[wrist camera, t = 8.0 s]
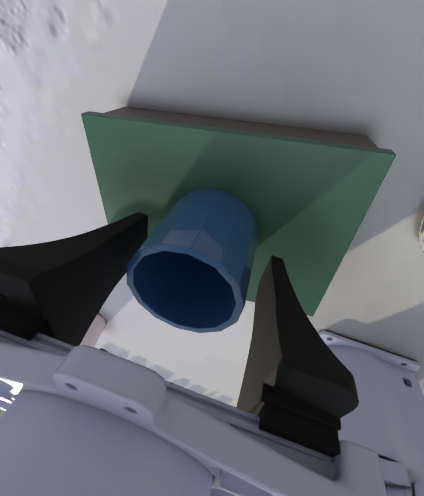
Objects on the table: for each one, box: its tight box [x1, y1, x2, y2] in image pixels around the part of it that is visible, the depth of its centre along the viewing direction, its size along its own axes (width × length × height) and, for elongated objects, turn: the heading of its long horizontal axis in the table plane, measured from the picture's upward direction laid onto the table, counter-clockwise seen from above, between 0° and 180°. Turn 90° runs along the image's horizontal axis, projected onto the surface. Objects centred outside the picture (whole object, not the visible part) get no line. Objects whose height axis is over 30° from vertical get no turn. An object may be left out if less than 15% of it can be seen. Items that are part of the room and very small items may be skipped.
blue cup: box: [126, 188, 258, 333], centre depth 13 cm, size 6×6×6 cm
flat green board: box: [81, 107, 396, 316], centre depth 17 cm, size 15×11×4 cm
